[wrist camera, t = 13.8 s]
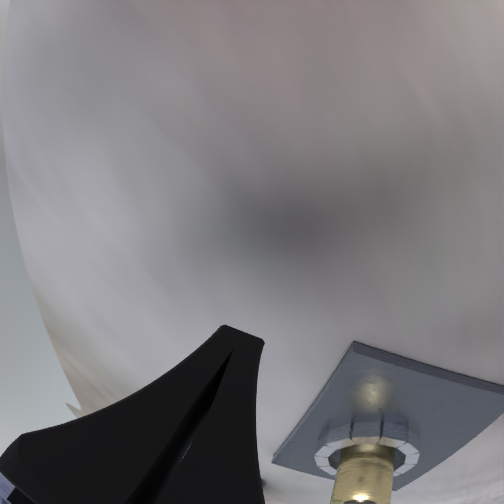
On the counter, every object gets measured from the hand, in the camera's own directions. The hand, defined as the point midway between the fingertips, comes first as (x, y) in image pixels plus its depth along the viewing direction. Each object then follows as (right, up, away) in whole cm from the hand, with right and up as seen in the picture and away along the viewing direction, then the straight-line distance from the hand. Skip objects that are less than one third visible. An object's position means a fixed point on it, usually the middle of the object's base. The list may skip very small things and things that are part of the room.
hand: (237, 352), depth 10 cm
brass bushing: (+11, -14, +14) cm, 23 cm away
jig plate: (+12, -14, +14) cm, 23 cm away
